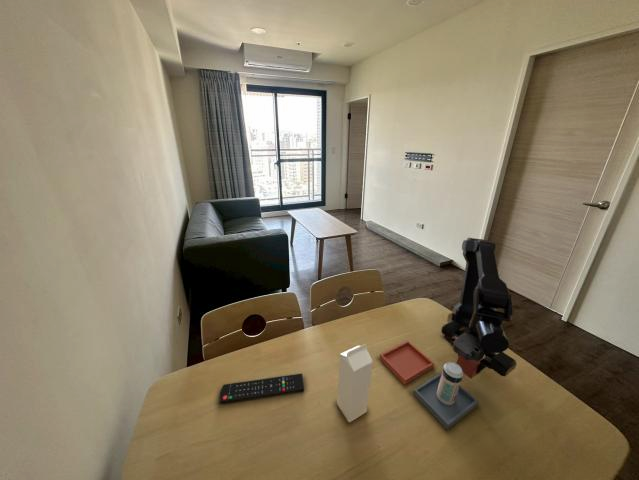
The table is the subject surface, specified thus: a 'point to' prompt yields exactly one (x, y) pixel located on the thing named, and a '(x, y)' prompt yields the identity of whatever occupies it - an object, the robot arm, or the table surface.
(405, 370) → the red tray
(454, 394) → the pill bottle
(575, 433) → the table surface
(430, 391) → the grey tray
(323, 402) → the table surface
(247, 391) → the remote control
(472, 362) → the red block
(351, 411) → the milk
